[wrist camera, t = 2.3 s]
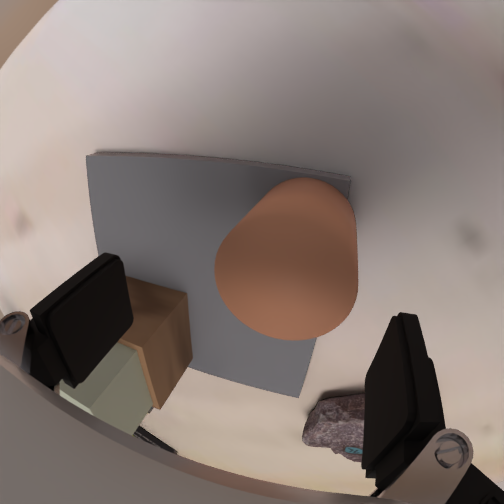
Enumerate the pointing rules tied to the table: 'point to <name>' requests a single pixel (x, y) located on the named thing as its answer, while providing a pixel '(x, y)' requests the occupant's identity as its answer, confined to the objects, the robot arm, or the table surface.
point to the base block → (159, 336)
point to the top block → (114, 390)
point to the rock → (337, 426)
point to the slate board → (196, 249)
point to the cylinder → (291, 262)
